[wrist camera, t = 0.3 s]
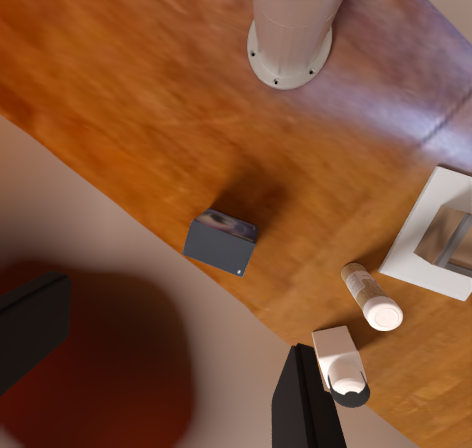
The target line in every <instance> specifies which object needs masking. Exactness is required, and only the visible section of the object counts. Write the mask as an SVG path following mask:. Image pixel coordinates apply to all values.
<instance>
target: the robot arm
mask: <svg viewBox="0 0 472 448" xmlns="http://www.w3.org/2000/svg"><path fill="white" fill-rule="evenodd" d="M252 2H253V11H254V20H253V21H252V24H251V27H250V30H249V34H248V41H247V50H248V57H249V61H250V64H251V67H252V69H253V71H254V73H255V74H256V76H257V77H258V78H259V79H260V80H261V81H262V82H263V83H265V84H266V85H268V86H269V87H272V88H275V89H279V90H291V89H295V88H298V87H300V86H302V85H304V84H306V83H308V82H309V81H310V80H312V79H313V78H314V77H315V76H316V75H317V74H318V72H319V71H320V70H321V68H322V67H323V65H324V63H325V61H326V59H327V57H328V54H329V52H330V48H331V43H332V26H331V24H332V22H333V19H334V17H335V15H336V13H337V11H338V9H339V6H340V4H341V2H342V0H252ZM252 54H255V56H252ZM310 72H312V73H313V74H310ZM275 82H277V84H275ZM70 296H71V281H70V280H69V277H68V275H66V274H63V273H59V272H56V271H51V272H48V273H46V274H44V275H42V276H40V277H38V278H36V279H34V280H32V281H30V282H28V283H26V284H24V285H22V286H20V287H18V288H16V289H14V290H12V291H10V292H8V293H6V294H4V295H2V296H0V396H2V395H3V394H4V393H5V392H6V391H7V390H8V389H9V388H11V387H12V386H13V385H14V384H15V383H16V382H18V381H19V380H20V379H21V378H22V377H23V376H24V375H26V374H27V373H28V372H29V371H30V370H31V369H32V368H34V367H35V366H36V365H37V364H38V363H39V362H40V361H42V360H43V358H45V357H46V356H47V355H48V354H50V353H51V352H52V351H53V350H54V349H55V348H56V347H57V346H59V345H60V344H61V343H62V342H63V341H64V340H65V339H66V338H67V336H68V334H69V321H70V298H71V297H70ZM272 448H347V446H346V443H345V439H344V436H343V432H342V428H341V425H340V421H339V417H338V414H337V410H336V406H335V403H334V400H333V397H332V395H331V393H330V392H327V391H324V387H323V384H322V379H321V375H320V371H319V367H318V363H317V359H316V355H315V351H314V348H313V347H310V346H307V345H304V344H300V343H298V344H297V345H296V346H292V347H291V349H290V352H289V354H288V357H287V360H286V362H285V365H284V368H283V371H282V373H281V376H280V379H279V381H278V384H277V387H276V389H275V392H274V395H273V398H272Z"/></svg>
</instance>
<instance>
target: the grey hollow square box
mask: <svg viewBox="0 0 472 448" xmlns="http://www.w3.org/2000/svg"><path fill="white" fill-rule="evenodd" d="M413 253H415V254H416V255H418V256H419V257H421V258H422V259H424V260H425V261H427V262H428V263H430V264H432V265H434V266H437V267H440V268H443V269H446V270H449V271H452V272H455V273H458V274H461V275H464V276H467V277H470V278H472V214H470V213H467V212H464V211H460V210H456V209H452V208H449V207H445V206H440V208H439V210H438V211H437V213H436V215H435V217H434V218H433V220H432V222H431V223H430V225H429V227H428V228H427V230H426V232H425V233H424V235H423V237H422V239H421V240H420V242H419V244H418V245H417V247H416V249H415V250H414V252H413Z"/></svg>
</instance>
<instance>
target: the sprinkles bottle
mask: <svg viewBox="0 0 472 448" xmlns="http://www.w3.org/2000/svg"><path fill="white" fill-rule="evenodd" d="M341 277H342V279H343V280H344V281H345V283H346V284H347V287H348V288H349V290H350V292H351V293H352V295H353V297H354V298H355V300H356V302H357V303H358V305H359V306H360V307H361V309H362V311H363V313H364V316H365V318H366V319H367V321H368V322H369V324H370V325H371V326H372V327H373V328H375V329H377V330H381V331H389V330H392V329H395V328H396V327H398V326H399V325H400V323H401V322H402V319H403V313H402V310H401V309H400V308H399V306H398V305H397V304H396V303H395V302H394V301H393V300H392V299H390V298H389V297H388V296H387V295H386V293H385V292H384V291H383V290H382V288H381V287H380V286H379V285H378V284H377V282H376V281H375V280H374V279H373V278H372V276H371V275H370V274H369V273H368V272H367V271H366V269H365V268H364V267H363V266H362V265H361V264H358V263H350V264H348V265H346V266H344V268H343V269H342V271H341Z"/></svg>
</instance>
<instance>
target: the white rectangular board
mask: <svg viewBox="0 0 472 448" xmlns="http://www.w3.org/2000/svg"><path fill="white" fill-rule="evenodd" d="M440 206H445V207H449V208H452V209H456V210H460V211H464V212H467V213H470V214H472V177H470V176H467V175H464V174H460V173H457V172H454V171H451V170H448V169H445V168H442V167H438V166H436V167H435V169H434V171H433V173H432V174H431V176H430V178H429V180H428V182H427V183H426V185H425V187H424V189H423V191H422V192H421V194H420V196H419V198H418V200H417V201H416V203H415V205H414V207H413V209H412V210H411V212H410V214H409V216H408V218H407V219H406V221H405V223H404V225H403V227H402V228H401V230H400V232H399V234H398V236H397V237H396V239H395V241H394V243H393V245H392V246H391V248H390V250H389V252H388V254H387V256H386V257H385V259H384V261H383V263H382V265H381V266H380V268H379V270H378V271H379V272H380V273H383V274H386V275H389V276H391V277H394V278H397V279H400V280H403V281H406V282H409V283H412V284H415V285H418V286H421V287H424V288H427V289H430V290H432V291H435V292H438V293H441V294H444V295H447V296H450V297H453V298H456V299H459V300H462V301H465V300H466V299H467V298H468V296H469V295H470V293H471V292H472V278H470V277H467V276H464V275H461V274H458V273H455V272H452V271H449V270H446V269H443V268H440V267H437V266H434V265H432V264H430V263H428V262H427V261H425V260H424V259H422V258H421V257H419V256H418V255H416V254H415V253H413V252H414V250H415V249H416V247H417V245H418V244H419V242H420V240H421V239H422V237H423V235H424V233H425V232H426V230H427V228H428V227H429V225H430V223H431V222H432V220H433V218H434V217H435V215H436V213H437V211H438V210H439V208H440Z"/></svg>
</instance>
